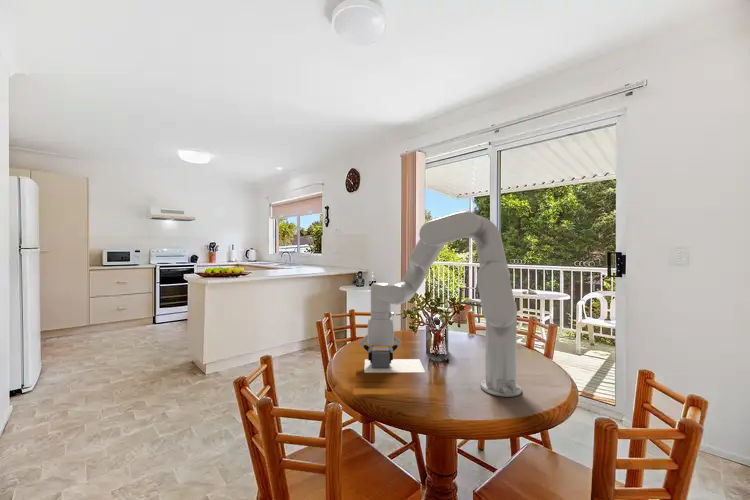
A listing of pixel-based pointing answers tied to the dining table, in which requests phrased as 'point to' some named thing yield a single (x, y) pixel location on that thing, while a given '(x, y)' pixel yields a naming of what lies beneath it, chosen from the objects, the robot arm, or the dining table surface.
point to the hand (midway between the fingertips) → (380, 361)
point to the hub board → (396, 366)
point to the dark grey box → (380, 358)
